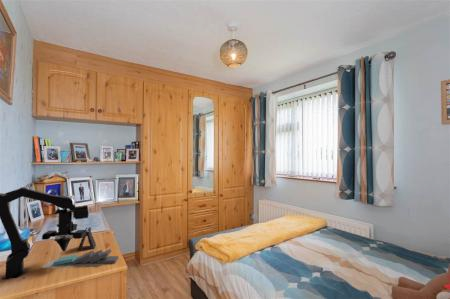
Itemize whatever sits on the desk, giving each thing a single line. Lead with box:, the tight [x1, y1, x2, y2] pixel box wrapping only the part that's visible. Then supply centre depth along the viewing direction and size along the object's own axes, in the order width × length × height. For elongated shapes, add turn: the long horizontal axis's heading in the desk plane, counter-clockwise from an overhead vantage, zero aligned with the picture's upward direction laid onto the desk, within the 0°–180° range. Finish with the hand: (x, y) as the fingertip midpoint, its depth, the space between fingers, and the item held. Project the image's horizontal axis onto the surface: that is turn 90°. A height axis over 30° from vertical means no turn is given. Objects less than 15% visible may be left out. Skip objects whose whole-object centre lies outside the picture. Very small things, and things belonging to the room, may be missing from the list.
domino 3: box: [81, 249, 104, 264], centre depth 122 cm, size 5×2×9 cm
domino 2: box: [72, 249, 95, 265], centre depth 121 cm, size 5×2×9 cm
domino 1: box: [54, 253, 79, 266], centre depth 120 cm, size 5×2×9 cm
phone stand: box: [76, 226, 97, 252], centre depth 139 cm, size 9×6×12 cm, turn 110°
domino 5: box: [97, 255, 119, 265], centre depth 122 cm, size 5×2×9 cm
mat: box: [41, 259, 103, 269], centre depth 120 cm, size 8×28×1 cm, turn 97°
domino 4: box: [90, 248, 112, 263], centre depth 122 cm, size 5×2×9 cm
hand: (64, 251), depth 120 cm, fingers closed
